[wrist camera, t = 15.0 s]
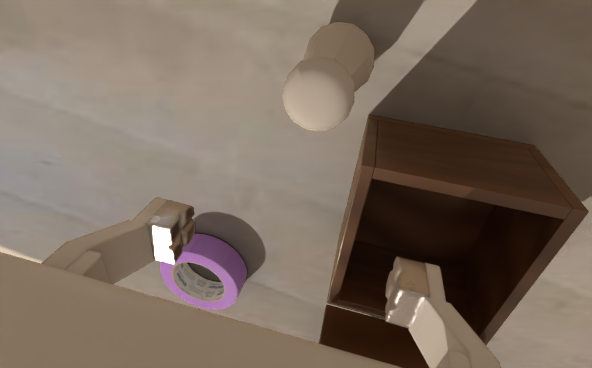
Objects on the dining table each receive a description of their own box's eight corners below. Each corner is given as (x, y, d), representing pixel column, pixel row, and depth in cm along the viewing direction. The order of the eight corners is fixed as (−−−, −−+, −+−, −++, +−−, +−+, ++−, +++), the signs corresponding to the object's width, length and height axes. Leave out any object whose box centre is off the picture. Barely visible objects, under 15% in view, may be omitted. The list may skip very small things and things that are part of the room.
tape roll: (240, 299, 52) (231, 320, 49) (172, 273, 53) (158, 293, 50) (253, 250, 46) (243, 271, 43) (175, 221, 46) (160, 239, 43)
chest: (368, 114, 32) (361, 164, 24) (535, 145, 30) (589, 211, 22) (339, 236, 41) (326, 303, 33) (465, 266, 39) (485, 346, 31)
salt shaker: (383, 24, 28) (378, 58, 17) (367, 91, 31) (355, 156, 20) (314, 13, 28) (269, 40, 18) (306, 80, 32) (263, 137, 21)
